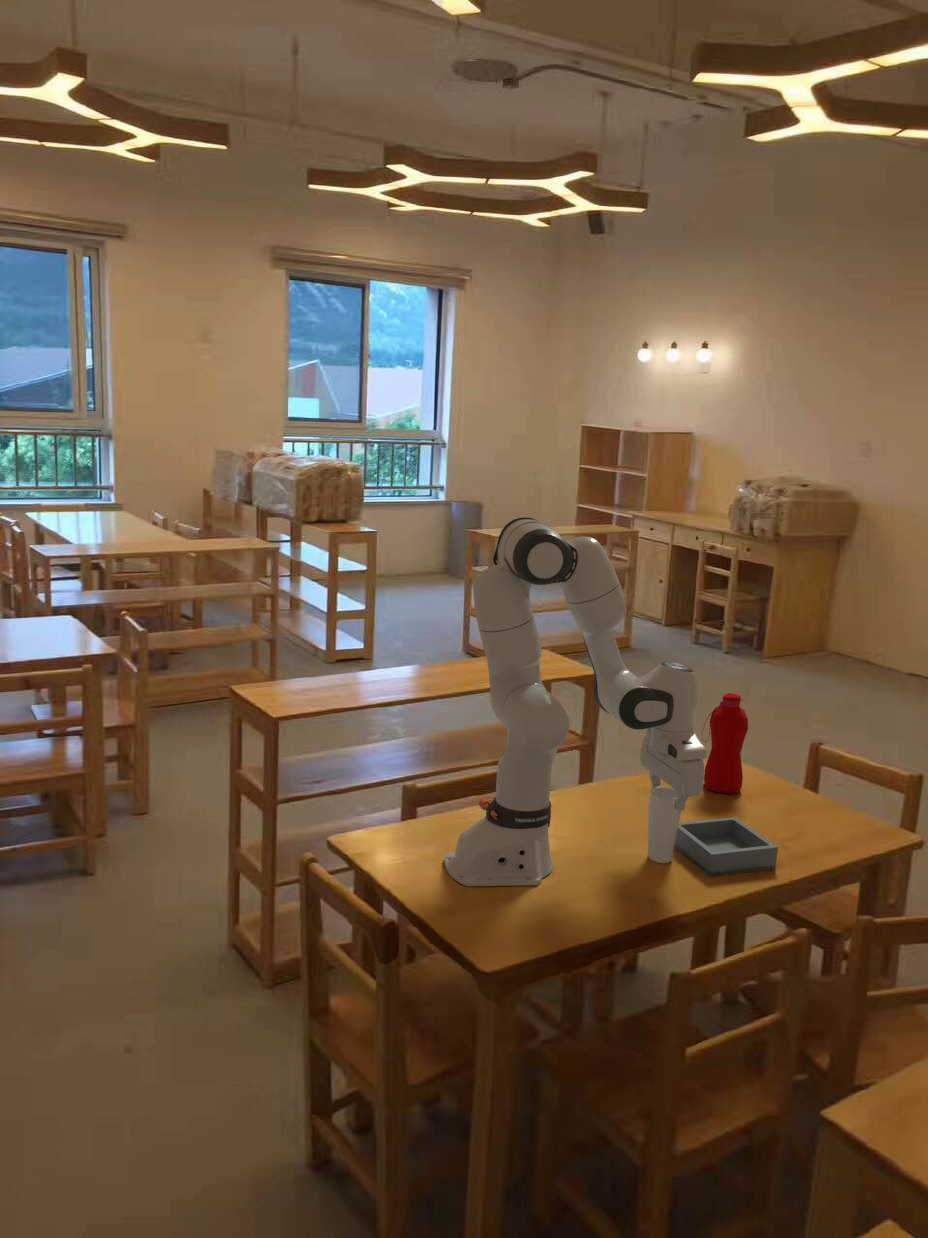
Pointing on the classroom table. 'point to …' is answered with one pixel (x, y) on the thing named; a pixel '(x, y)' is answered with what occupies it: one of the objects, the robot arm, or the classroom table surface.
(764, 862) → the bin
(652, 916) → the classroom table surface
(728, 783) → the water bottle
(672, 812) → the drinking glass
